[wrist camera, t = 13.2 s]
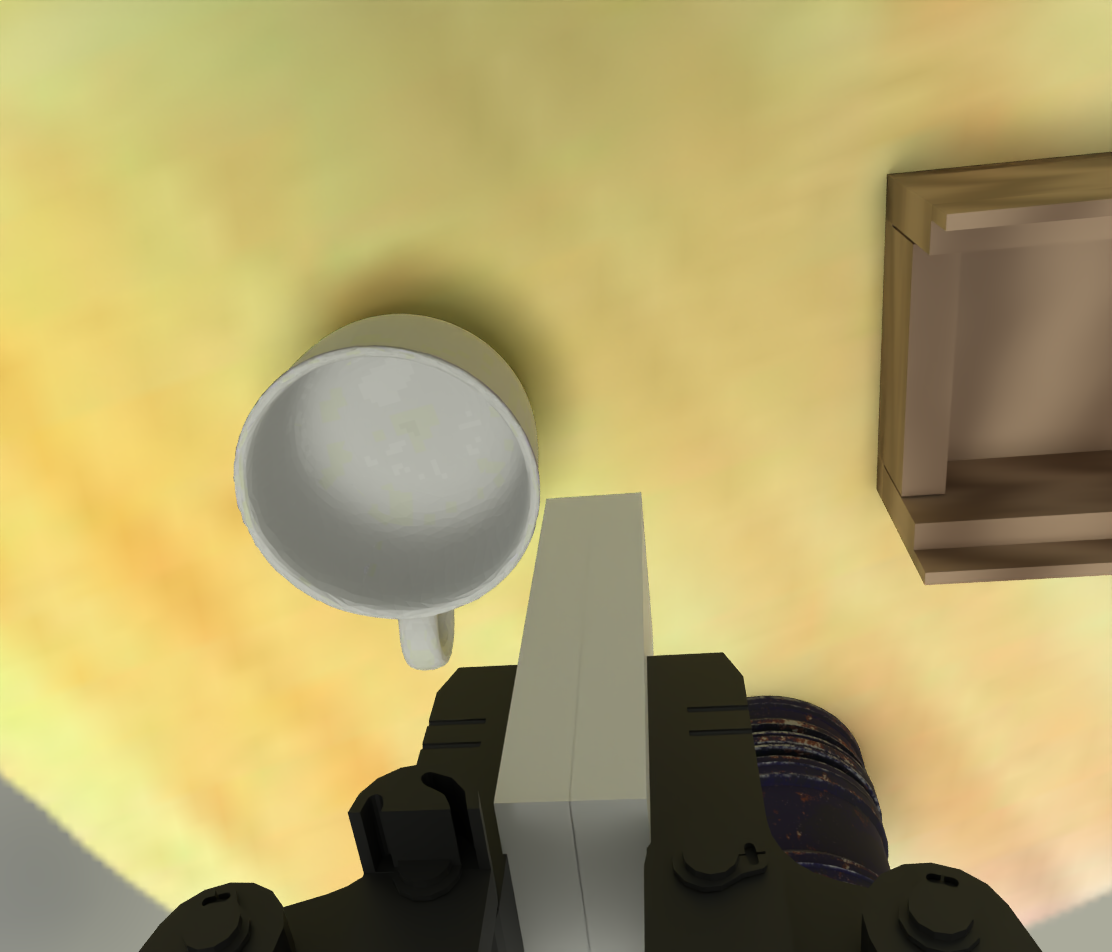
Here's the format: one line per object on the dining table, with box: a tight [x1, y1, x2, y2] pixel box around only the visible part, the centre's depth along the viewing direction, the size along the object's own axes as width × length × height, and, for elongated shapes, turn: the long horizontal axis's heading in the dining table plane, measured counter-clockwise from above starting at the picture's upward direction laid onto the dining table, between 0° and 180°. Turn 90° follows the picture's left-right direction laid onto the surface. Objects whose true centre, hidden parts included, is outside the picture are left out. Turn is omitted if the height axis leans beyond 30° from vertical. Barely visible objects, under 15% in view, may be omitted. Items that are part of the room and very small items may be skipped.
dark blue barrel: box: [747, 696, 890, 888], centre depth 42 cm, size 10×10×15 cm
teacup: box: [234, 314, 540, 670], centre depth 39 cm, size 14×11×8 cm
